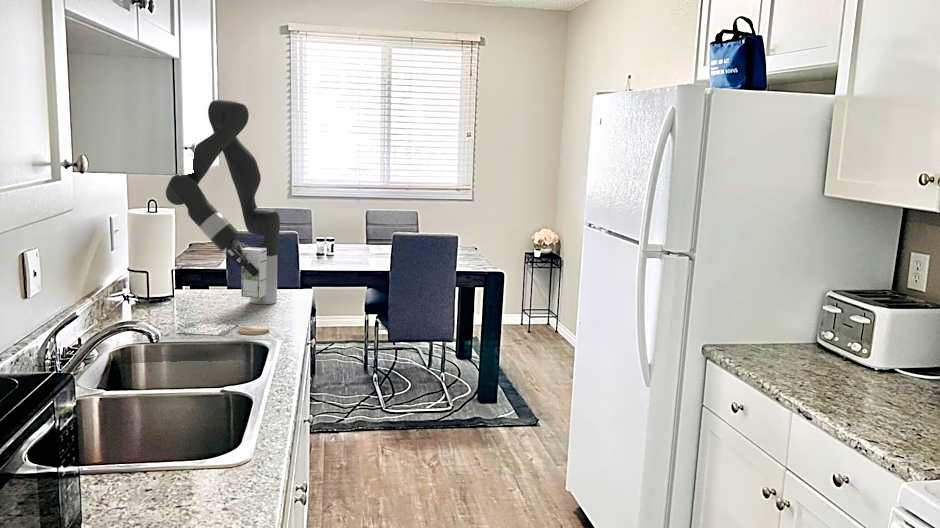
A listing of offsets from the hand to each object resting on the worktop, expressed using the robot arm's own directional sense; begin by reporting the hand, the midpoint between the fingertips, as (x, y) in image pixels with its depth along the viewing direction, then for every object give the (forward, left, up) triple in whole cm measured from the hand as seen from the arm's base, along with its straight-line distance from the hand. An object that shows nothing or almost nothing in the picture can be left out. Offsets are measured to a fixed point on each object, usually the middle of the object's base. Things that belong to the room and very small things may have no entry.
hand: (259, 272), depth 219 cm
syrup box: (0, -2, -7) cm, 8 cm away
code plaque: (0, -16, -18) cm, 24 cm away
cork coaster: (0, -2, -18) cm, 18 cm away
